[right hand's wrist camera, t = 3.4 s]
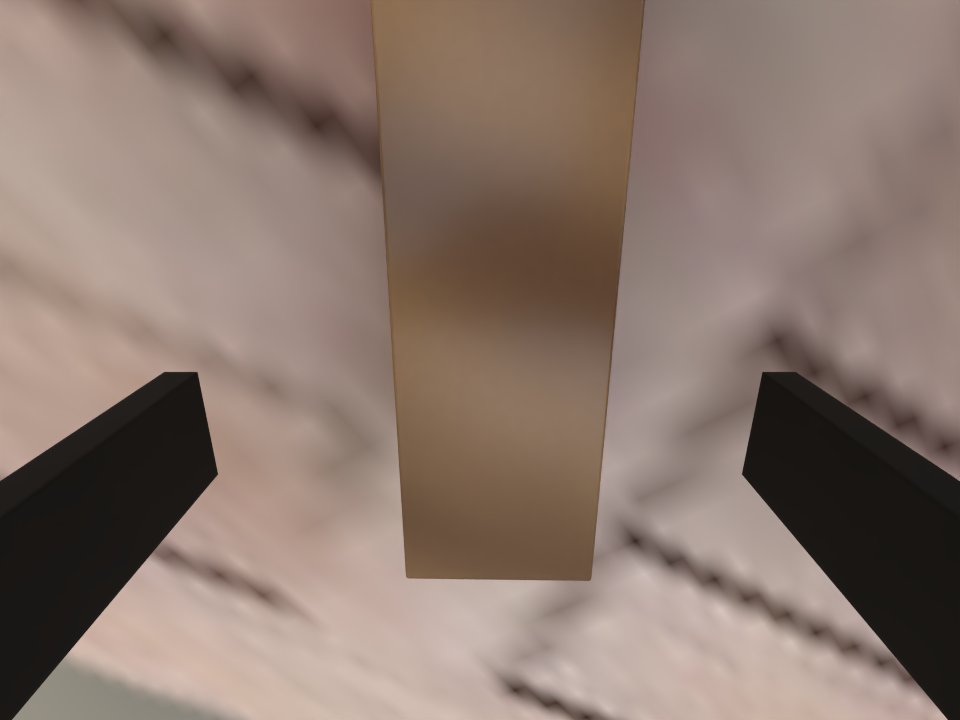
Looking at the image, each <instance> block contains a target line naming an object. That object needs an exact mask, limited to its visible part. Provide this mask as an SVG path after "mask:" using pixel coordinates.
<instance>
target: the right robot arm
mask: <svg viewBox="0 0 960 720" xmlns="http://www.w3.org/2000/svg"><path fill="white" fill-rule="evenodd" d="M217 475H218V472H217V467H216V462H215V457H214V452H213V447H212V442H211V437H210V432H209V427H208V422H207V417H206V412H205V407H204V403H203V398H202V393H201V388H200V383H199V378H198V373H197V372H164V373H162V374H161V375H159V376H158V377H156V378H155V379H153V380H152V381H150V382H149V383H147V384H146V385H144V386H143V387H141V388H140V389H138V390H137V391H135V392H134V393H132V394H131V395H129V396H128V397H126V398H125V399H123V400H122V401H120V402H119V403H117V404H116V405H114V406H113V407H111V408H110V409H108V410H107V411H105V412H104V413H102V414H101V415H99V416H98V417H96V418H95V419H93V420H92V421H90V422H89V423H87V424H86V425H84V426H83V427H81V428H80V429H78V430H77V431H75V432H74V433H72V434H71V435H69V436H68V437H66V438H65V439H63V440H62V441H60V442H58V443H57V444H55V445H54V446H52V447H51V448H49V449H48V450H46V451H45V452H43V453H42V454H40V455H39V456H37V457H36V458H34V459H33V460H31V461H30V462H28V463H27V464H25V465H24V466H22V467H21V468H19V469H18V470H16V471H15V472H13V473H12V474H10V475H9V476H7V477H6V478H4V479H3V480H1V481H0V720H12V719H13V718H14V717H15V715H16V714H17V713H18V712H19V711H20V710H21V708H22V707H23V706H24V705H25V703H26V702H27V701H28V700H29V699H30V698H31V696H32V695H33V694H34V693H35V692H36V690H37V689H38V688H39V687H40V686H41V684H42V683H43V682H44V681H45V680H46V679H47V677H48V676H49V675H50V674H51V673H52V671H53V670H54V669H55V668H56V667H57V665H58V664H59V663H60V662H61V661H62V660H63V658H64V657H65V656H66V655H67V654H68V652H69V651H70V650H71V649H72V648H73V646H74V645H75V644H76V643H77V642H78V640H79V639H80V638H81V637H82V636H83V634H84V633H85V632H86V631H87V630H88V629H89V627H90V626H91V625H92V624H93V623H94V621H95V620H96V619H97V618H98V617H99V615H100V614H101V613H102V612H103V611H104V609H105V608H106V607H107V606H108V605H109V604H110V602H111V601H112V600H113V599H114V598H115V596H116V595H117V594H118V593H119V592H120V590H121V589H122V588H123V587H124V586H125V584H126V583H127V582H128V581H129V580H130V579H131V577H132V576H133V575H134V574H135V573H136V571H137V570H138V569H139V568H140V567H141V565H142V564H143V563H144V562H145V561H146V559H147V558H148V557H149V556H150V555H151V553H152V552H153V551H154V550H155V549H156V548H157V546H158V545H159V544H160V543H161V542H162V540H163V539H164V538H165V537H166V536H167V534H168V533H169V532H170V531H171V530H172V528H173V527H174V526H175V525H176V524H177V523H178V521H179V520H180V519H181V518H182V517H183V515H184V514H185V513H186V512H187V511H188V509H189V508H190V507H191V506H192V505H193V503H194V502H195V501H196V500H197V499H198V498H199V496H200V495H201V494H202V493H203V492H204V490H205V489H206V488H207V487H208V486H209V484H210V483H211V482H212V481H213V480H214V478H215V477H216V476H217ZM742 475H743V476H744V477H745V478H746V480H747V481H748V482H749V483H750V484H751V486H752V487H753V488H754V489H755V490H756V492H757V493H758V494H759V495H760V496H761V498H762V499H763V500H764V501H765V502H766V503H767V505H768V506H769V507H770V508H771V509H772V511H773V512H774V513H775V514H776V515H777V517H778V518H779V519H780V520H781V521H782V523H783V524H784V525H785V526H786V527H787V528H788V530H789V531H790V532H791V533H792V534H793V536H794V537H795V538H796V539H797V540H798V542H799V543H800V544H801V545H802V546H803V548H804V549H805V550H806V551H807V552H808V553H809V555H810V556H811V557H812V558H813V559H814V561H815V562H816V563H817V564H818V565H819V567H820V568H821V569H822V570H823V571H824V573H825V574H826V575H827V576H828V577H829V579H830V580H831V581H832V582H833V583H834V584H835V586H836V587H837V588H838V589H839V590H840V592H841V593H842V594H843V595H844V596H845V598H846V599H847V600H848V601H849V602H850V604H851V605H852V606H853V607H854V608H855V609H856V611H857V612H858V613H859V614H860V615H861V617H862V618H863V619H864V620H865V621H866V623H867V624H868V625H869V626H870V627H871V629H872V630H873V631H874V632H875V633H876V634H877V636H878V637H879V638H880V639H881V640H882V642H883V643H884V644H885V645H886V646H887V648H888V649H889V650H890V651H891V652H892V654H893V655H894V656H895V657H896V658H897V660H898V661H899V662H900V663H901V664H902V665H903V667H904V668H905V669H906V670H907V671H908V673H909V674H910V675H911V676H912V677H913V679H914V680H915V681H916V682H917V683H918V685H919V686H920V687H921V688H922V689H923V690H924V692H925V693H926V694H927V695H928V696H929V698H930V699H931V700H932V701H933V702H934V704H935V705H936V706H937V707H938V708H939V710H940V711H941V712H942V713H943V714H944V715H945V717H946V718H947V719H948V720H960V481H959V480H957V479H956V478H954V477H953V476H951V475H950V474H948V473H947V472H945V471H944V470H942V469H941V468H939V467H938V466H936V465H935V464H933V463H932V462H930V461H929V460H927V459H926V458H924V457H923V456H921V455H920V454H918V453H917V452H915V451H914V450H912V449H911V448H909V447H908V446H906V445H905V444H903V443H902V442H900V441H898V440H897V439H895V438H894V437H892V436H891V435H889V434H888V433H886V432H885V431H883V430H882V429H880V428H879V427H877V426H876V425H874V424H873V423H871V422H870V421H868V420H867V419H865V418H864V417H862V416H861V415H859V414H858V413H856V412H855V411H853V410H852V409H850V408H849V407H847V406H846V405H844V404H843V403H841V402H840V401H838V400H837V399H835V398H834V397H832V396H831V395H829V394H828V393H826V392H825V391H823V390H822V389H820V388H819V387H817V386H816V385H814V384H813V383H811V382H810V381H808V380H807V379H805V378H804V377H802V376H801V375H799V374H798V373H796V372H763V373H762V378H761V383H760V388H759V393H758V398H757V402H756V407H755V412H754V417H753V422H752V427H751V432H750V437H749V442H748V447H747V452H746V457H745V462H744V467H743V472H742Z"/></svg>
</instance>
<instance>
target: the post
mask: <svg viewBox="0 0 960 720" xmlns="http://www.w3.org/2000/svg"><path fill="white" fill-rule="evenodd" d="M644 5H645V0H371V14H372V30H373V46H374V63H375V79H376V95H377V112H378V128H379V144H380V160H381V177H382V193H383V209H384V225H385V242H386V258H387V274H388V290H389V307H390V323H391V339H392V355H393V372H394V388H395V404H396V420H397V437H398V453H399V469H400V486H401V502H402V518H403V534H404V551H405V567H406V577H407V578H422V579H497V580H572V581H590V580H591V576H592V565H593V554H594V543H595V533H596V522H597V511H598V500H599V490H600V479H601V468H602V457H603V446H604V436H605V425H606V414H607V403H608V393H609V382H610V371H611V360H612V350H613V339H614V328H615V317H616V306H617V296H618V285H619V274H620V263H621V253H622V242H623V231H624V220H625V210H626V199H627V188H628V177H629V166H630V156H631V145H632V134H633V123H634V113H635V102H636V91H637V80H638V70H639V59H640V48H641V37H642V26H643V16H644Z"/></svg>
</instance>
